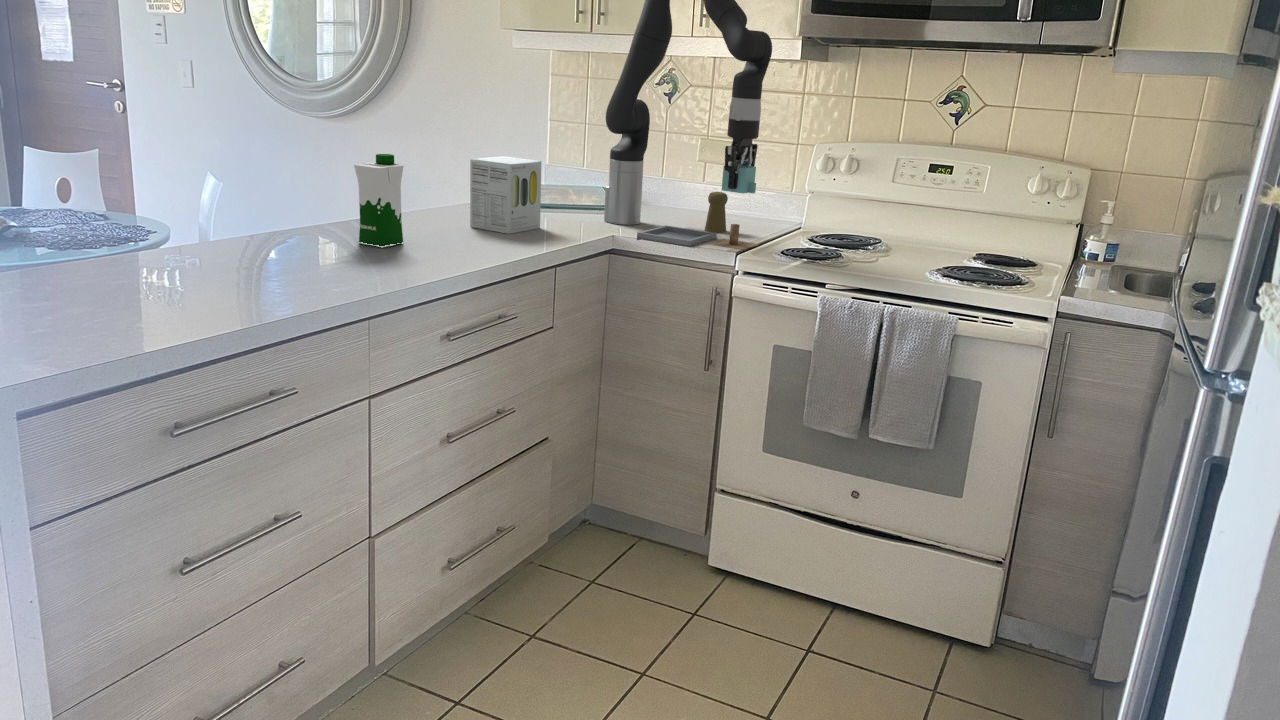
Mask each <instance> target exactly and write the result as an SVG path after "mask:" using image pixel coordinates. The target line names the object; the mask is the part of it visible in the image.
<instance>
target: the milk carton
mask: <svg viewBox="0 0 1280 720" xmlns="http://www.w3.org/2000/svg"><path fill="white" fill-rule="evenodd" d="M353 166H354V170H355V175H356V178H357V183H358V202H359V203H358V204H359V233H358V234H359V237H358V243H359V242H363V243H367V244H373V245H379V246H385V245H390V244H397V243H402V242H403V243H404V236H403V235H404V234H403V233H404V232H403V224H402V192H401V191H402V188H401V186H402V178H403V172H404V165H402V164H400V163H399V164H397V163H395V154H391V153H390V154H389V153H377V154H375V162H363V163H361V164H359V163H357V164H353Z"/></svg>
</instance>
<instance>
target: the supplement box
mask: <svg viewBox="0 0 1280 720" xmlns="http://www.w3.org/2000/svg"><path fill="white" fill-rule="evenodd" d="M469 161H470V163H469V164H470V165H469V166H470V177H469V179H470V180H469V182H470V184H469V185H470V186H469V187H470V190H469V192H470V193H469V194H470V197H469V200H470V201H469V203H470V204H469V205H470V207H469V210H470V211H469V217H470V220H469V223H470V225H469V227H471V228H475V229H480V230H486V231H492V232H496V233H502V234H507V235H509V234H514V233H519V232H520V233H521V232H526V231H532V230H537V229H540V228H541V203H542V201H541V200H542V199H541V197H542V195H541V194H542V193H541V192H542V160H536V159H529V158H521V157H513V156H504V155H501V156H490V157H478V158H477V157H475V158H470V160H469Z"/></svg>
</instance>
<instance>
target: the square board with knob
mask: <svg viewBox="0 0 1280 720" xmlns="http://www.w3.org/2000/svg"><path fill="white" fill-rule="evenodd" d="M740 226H741V225H740V224H738V223H730V228H729V229H730V230H729V238H722V239H719V240H716V241H715V240H714V241H711V242H709V243H707V245H710V246H717V247H722V248H730V249H736V250H740V251H742V250H743V251H745V250H747V249H750V248H753V247H756V246H759V245H760V243H753V242H748V241H741V240H739V235H740Z"/></svg>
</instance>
